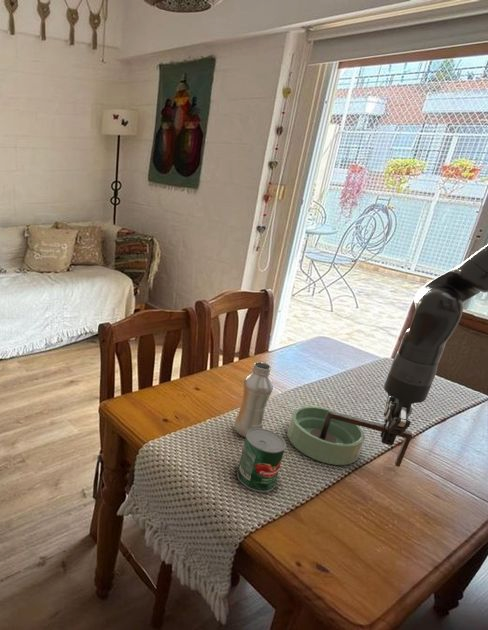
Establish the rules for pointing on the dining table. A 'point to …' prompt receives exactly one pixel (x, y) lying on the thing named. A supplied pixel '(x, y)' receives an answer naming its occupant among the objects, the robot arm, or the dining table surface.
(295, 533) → the dining table surface
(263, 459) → the canned tomato
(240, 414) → the plastic bottle
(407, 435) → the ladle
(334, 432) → the bowl
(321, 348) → the dining table surface
